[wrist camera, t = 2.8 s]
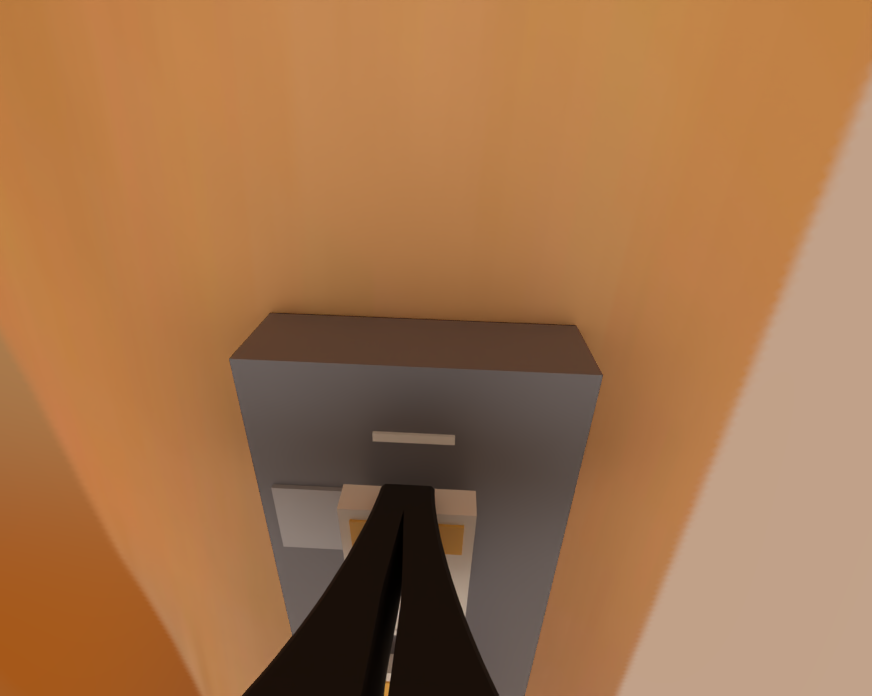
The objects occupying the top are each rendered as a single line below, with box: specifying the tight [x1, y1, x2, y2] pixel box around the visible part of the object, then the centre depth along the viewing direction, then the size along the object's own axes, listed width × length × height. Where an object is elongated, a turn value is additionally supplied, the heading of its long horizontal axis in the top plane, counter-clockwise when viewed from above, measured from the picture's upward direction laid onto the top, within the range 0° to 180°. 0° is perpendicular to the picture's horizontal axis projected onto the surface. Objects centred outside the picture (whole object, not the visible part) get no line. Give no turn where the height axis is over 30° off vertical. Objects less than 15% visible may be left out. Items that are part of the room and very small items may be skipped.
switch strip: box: [229, 313, 603, 696], centre depth 18 cm, size 22×10×3 cm, turn 179°
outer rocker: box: [337, 484, 477, 629], centre depth 13 cm, size 6×4×1 cm, turn 178°
